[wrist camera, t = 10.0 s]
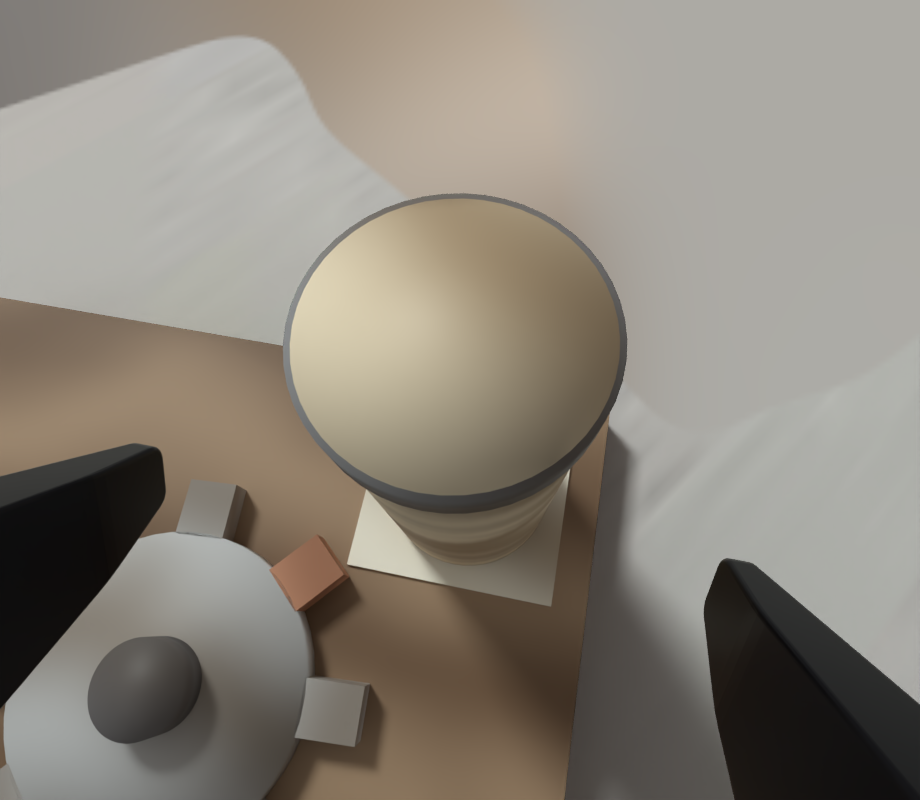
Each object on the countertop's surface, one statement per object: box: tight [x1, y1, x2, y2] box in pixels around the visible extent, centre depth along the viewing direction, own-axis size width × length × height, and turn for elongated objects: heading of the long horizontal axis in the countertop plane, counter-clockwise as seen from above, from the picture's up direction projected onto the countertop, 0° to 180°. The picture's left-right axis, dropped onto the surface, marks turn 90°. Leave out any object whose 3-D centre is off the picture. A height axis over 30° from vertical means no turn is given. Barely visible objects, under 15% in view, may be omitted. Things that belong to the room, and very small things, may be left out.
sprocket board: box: [0, 298, 610, 800], centre depth 17 cm, size 16×22×3 cm
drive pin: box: [283, 194, 627, 566], centre depth 13 cm, size 5×5×10 cm
